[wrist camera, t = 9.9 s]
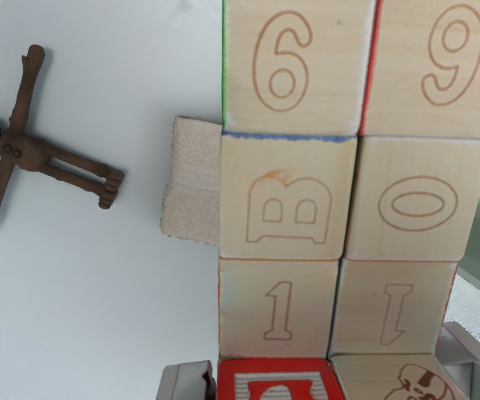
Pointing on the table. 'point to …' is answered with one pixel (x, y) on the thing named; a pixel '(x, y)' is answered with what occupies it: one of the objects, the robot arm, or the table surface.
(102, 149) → the table surface
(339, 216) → the stack of blocks
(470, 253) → the pencil cup
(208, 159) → the washcloth
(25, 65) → the brown toy monkey
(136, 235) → the table surface
